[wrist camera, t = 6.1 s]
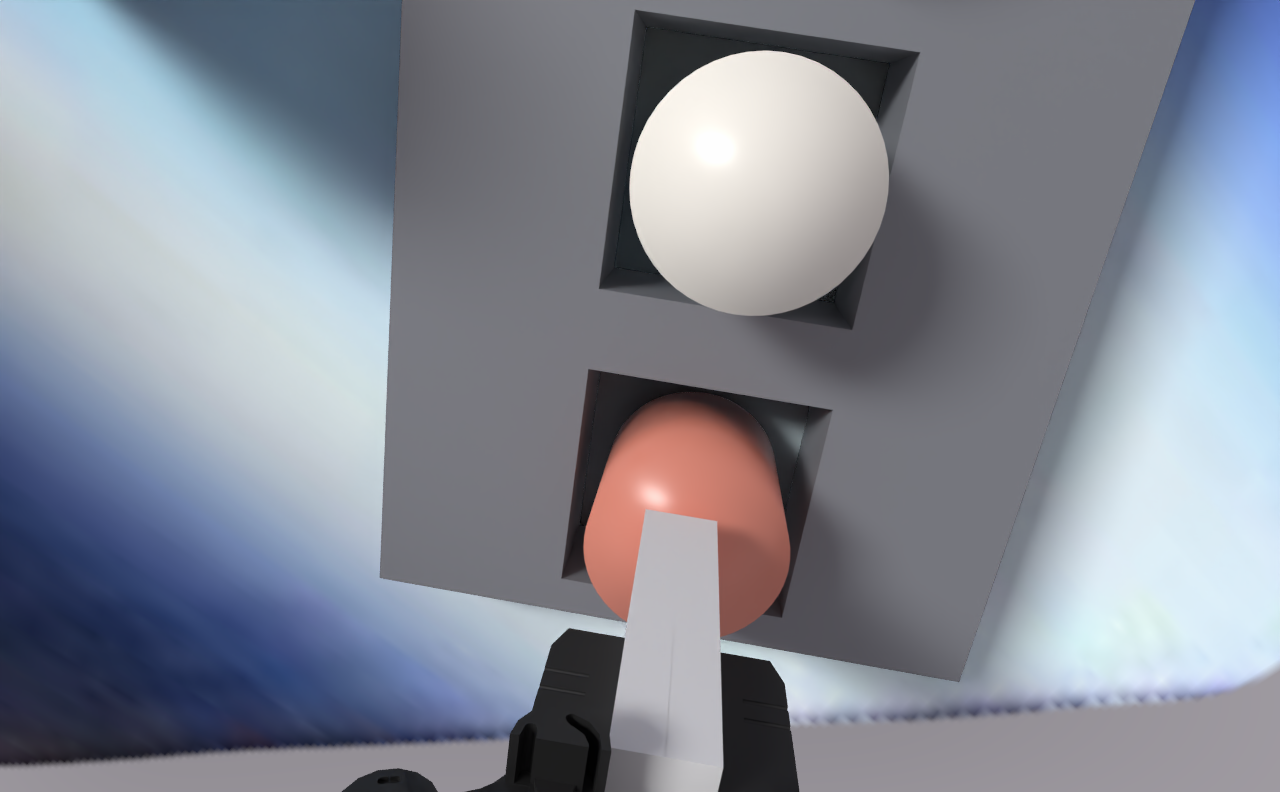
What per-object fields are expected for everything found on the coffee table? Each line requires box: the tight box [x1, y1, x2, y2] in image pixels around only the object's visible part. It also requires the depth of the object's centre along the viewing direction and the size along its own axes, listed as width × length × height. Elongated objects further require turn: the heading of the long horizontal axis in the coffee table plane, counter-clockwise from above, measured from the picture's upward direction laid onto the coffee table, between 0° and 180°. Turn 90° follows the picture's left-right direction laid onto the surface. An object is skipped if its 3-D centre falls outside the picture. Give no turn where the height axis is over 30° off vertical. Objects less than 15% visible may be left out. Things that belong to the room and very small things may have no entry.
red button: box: [583, 392, 790, 637], centre depth 20 cm, size 5×5×4 cm
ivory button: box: [629, 51, 889, 316], centre depth 16 cm, size 5×5×4 cm
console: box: [380, 0, 1195, 682], centre depth 19 cm, size 16×24×3 cm, turn 172°
